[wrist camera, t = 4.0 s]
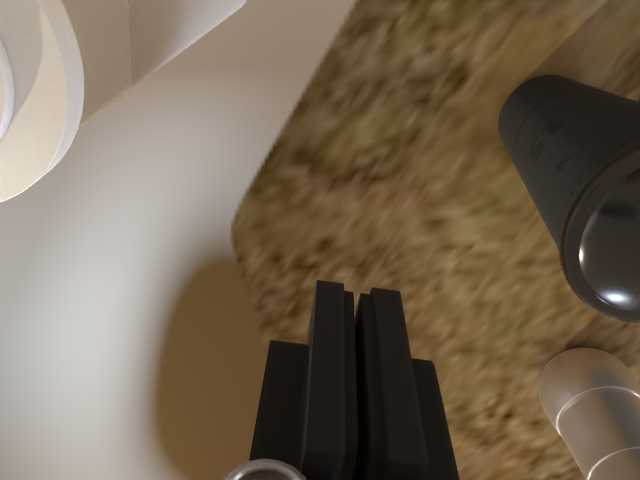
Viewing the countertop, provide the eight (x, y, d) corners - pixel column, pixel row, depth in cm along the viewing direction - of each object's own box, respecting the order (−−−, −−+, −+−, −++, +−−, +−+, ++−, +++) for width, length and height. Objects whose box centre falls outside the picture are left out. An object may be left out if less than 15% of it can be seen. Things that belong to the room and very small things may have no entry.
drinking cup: (637, 62, 28) (1129, 263, 11) (576, 190, 32) (865, 490, 14) (501, 33, 27) (788, 195, 10) (455, 167, 31) (607, 451, 14)
